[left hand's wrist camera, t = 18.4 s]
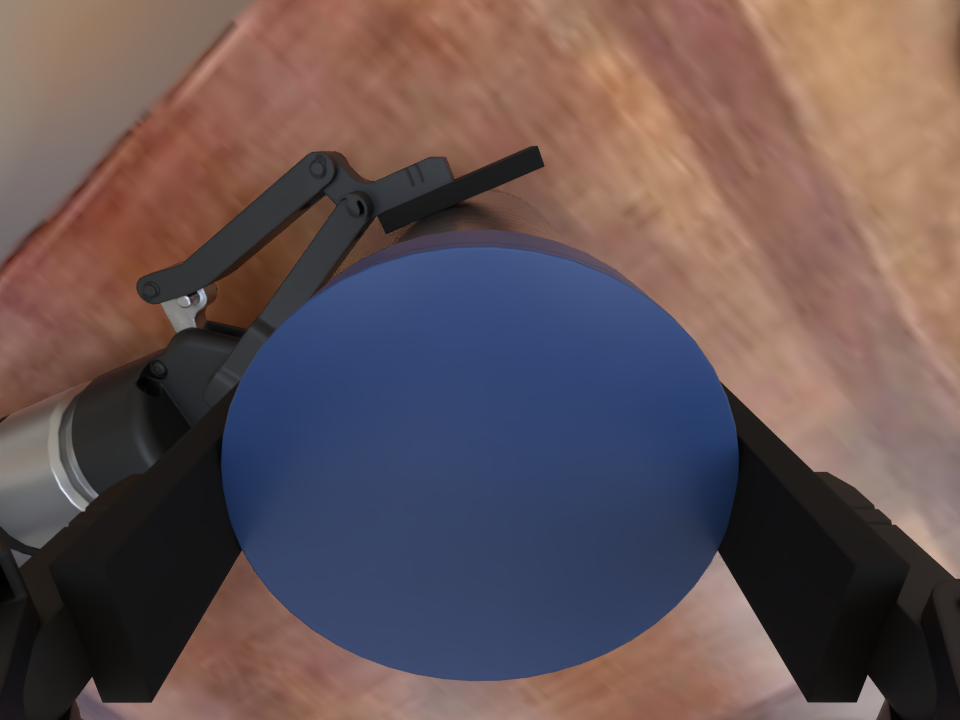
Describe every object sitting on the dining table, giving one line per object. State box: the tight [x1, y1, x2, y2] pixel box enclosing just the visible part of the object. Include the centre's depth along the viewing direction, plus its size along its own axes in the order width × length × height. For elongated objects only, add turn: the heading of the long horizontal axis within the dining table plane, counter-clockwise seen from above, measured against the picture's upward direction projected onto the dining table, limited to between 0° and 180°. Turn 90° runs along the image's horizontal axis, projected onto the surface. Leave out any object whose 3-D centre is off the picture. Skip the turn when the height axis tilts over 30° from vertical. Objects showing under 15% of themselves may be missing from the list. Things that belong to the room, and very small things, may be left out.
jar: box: [392, 190, 569, 246], centre depth 20 cm, size 9×9×19 cm
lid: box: [221, 230, 739, 681], centre depth 11 cm, size 10×10×2 cm
